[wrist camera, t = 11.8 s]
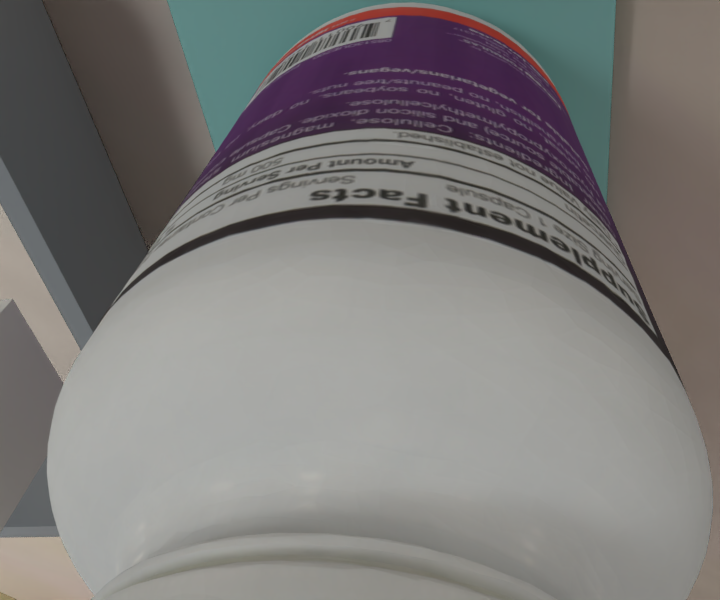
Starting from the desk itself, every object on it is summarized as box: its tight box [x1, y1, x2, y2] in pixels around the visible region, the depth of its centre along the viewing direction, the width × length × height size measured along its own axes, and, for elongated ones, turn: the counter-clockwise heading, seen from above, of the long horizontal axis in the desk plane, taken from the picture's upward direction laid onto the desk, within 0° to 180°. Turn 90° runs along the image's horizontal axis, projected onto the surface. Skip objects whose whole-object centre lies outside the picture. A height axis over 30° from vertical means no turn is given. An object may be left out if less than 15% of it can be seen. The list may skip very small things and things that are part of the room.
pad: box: [167, 0, 616, 205], centre depth 17 cm, size 10×10×1 cm
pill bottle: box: [47, 2, 713, 600], centre depth 11 cm, size 8×8×14 cm
